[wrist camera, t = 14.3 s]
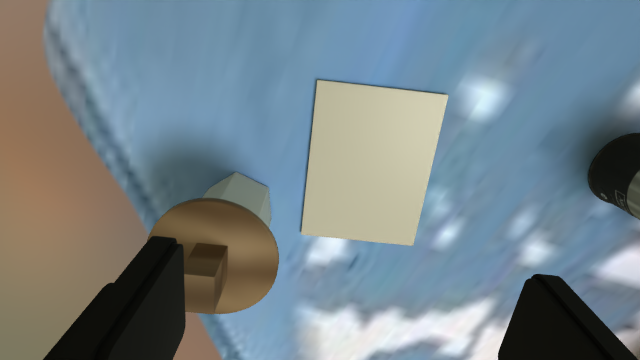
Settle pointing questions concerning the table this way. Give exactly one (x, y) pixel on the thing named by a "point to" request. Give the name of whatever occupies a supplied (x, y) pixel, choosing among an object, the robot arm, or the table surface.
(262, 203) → the jar
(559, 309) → the robot arm
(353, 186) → the placemat
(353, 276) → the table surface
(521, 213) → the table surface
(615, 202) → the milk frother
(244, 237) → the lid
